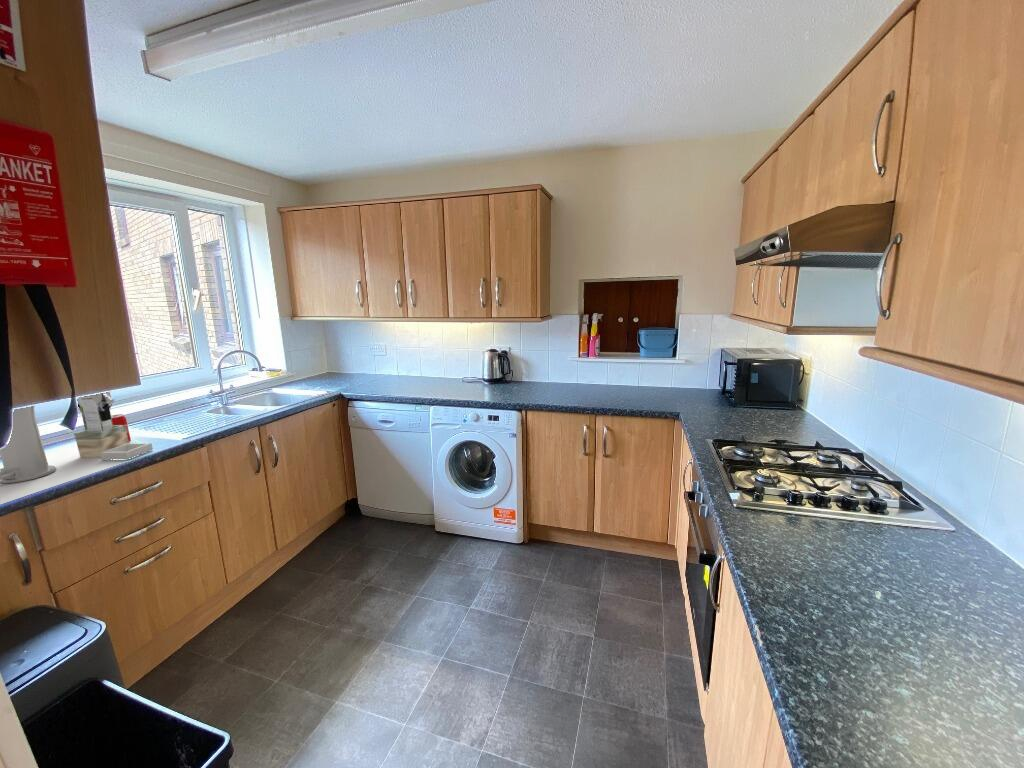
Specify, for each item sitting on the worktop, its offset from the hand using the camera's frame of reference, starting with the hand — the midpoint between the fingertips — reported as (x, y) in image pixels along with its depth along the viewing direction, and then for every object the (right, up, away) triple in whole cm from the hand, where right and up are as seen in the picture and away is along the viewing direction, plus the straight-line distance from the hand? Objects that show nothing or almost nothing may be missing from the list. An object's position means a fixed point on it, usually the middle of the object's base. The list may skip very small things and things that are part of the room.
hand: (97, 420), depth 161 cm
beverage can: (-3, -11, +13) cm, 17 cm away
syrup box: (0, -5, +1) cm, 5 cm away
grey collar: (+13, -13, -2) cm, 19 cm away
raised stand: (+1, -13, +3) cm, 13 cm away
